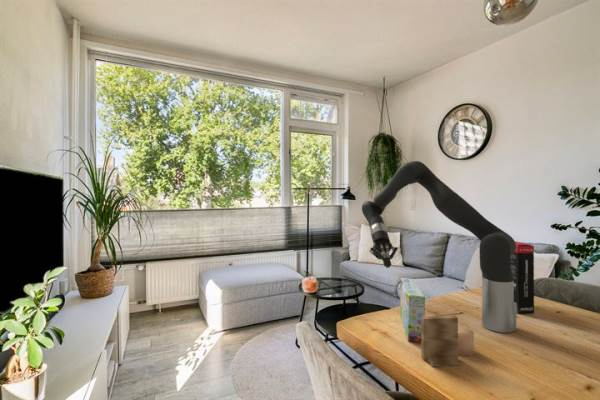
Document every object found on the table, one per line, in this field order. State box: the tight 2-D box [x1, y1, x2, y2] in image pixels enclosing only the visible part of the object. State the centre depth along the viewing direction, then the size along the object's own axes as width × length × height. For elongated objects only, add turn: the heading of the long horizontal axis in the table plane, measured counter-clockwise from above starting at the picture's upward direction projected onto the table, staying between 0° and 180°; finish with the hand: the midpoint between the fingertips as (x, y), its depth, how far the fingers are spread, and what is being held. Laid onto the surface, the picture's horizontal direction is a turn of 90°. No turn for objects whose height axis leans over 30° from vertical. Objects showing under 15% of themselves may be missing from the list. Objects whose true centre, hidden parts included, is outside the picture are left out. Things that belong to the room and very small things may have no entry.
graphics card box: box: [511, 240, 535, 315], centre depth 123 cm, size 17×7×27 cm, turn 179°
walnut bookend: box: [420, 315, 462, 367], centre depth 85 cm, size 10×5×12 cm, turn 92°
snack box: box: [399, 277, 426, 343], centre depth 106 cm, size 21×6×15 cm, turn 168°
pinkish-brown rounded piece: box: [458, 326, 475, 357], centre depth 90 cm, size 6×6×6 cm
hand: (388, 266), depth 129 cm, fingers closed
